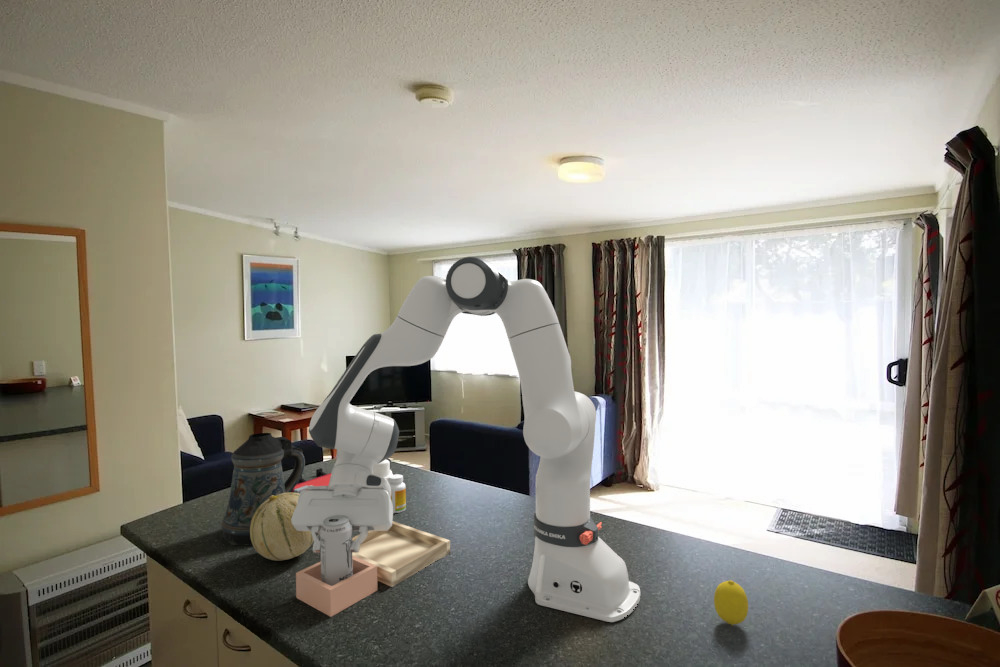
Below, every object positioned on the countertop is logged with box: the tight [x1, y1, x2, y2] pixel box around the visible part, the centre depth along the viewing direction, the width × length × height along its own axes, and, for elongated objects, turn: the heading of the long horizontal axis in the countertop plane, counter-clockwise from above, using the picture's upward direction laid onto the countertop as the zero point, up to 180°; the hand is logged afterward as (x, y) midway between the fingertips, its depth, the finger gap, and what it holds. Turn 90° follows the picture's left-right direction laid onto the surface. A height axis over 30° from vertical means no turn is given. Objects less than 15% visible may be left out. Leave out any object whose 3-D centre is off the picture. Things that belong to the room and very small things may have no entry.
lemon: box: [713, 579, 749, 626], centre depth 90 cm, size 6×6×8 cm
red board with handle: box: [291, 467, 332, 494], centre depth 165 cm, size 30×3×15 cm
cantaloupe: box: [250, 492, 314, 562], centre depth 116 cm, size 15×15×15 cm
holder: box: [295, 556, 378, 618], centre depth 100 cm, size 11×11×5 cm
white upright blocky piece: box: [373, 457, 394, 483], centre depth 153 cm, size 7×7×12 cm
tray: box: [352, 520, 451, 588], centre depth 116 cm, size 20×18×3 cm
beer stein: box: [220, 432, 306, 546], centre depth 131 cm, size 16×19×25 cm
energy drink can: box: [319, 515, 353, 586], centre depth 100 cm, size 6×6×15 cm
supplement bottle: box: [389, 473, 407, 514], centre depth 144 cm, size 5×5×10 cm
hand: (335, 551), depth 100 cm, fingers closed on energy drink can, 6 cm apart
